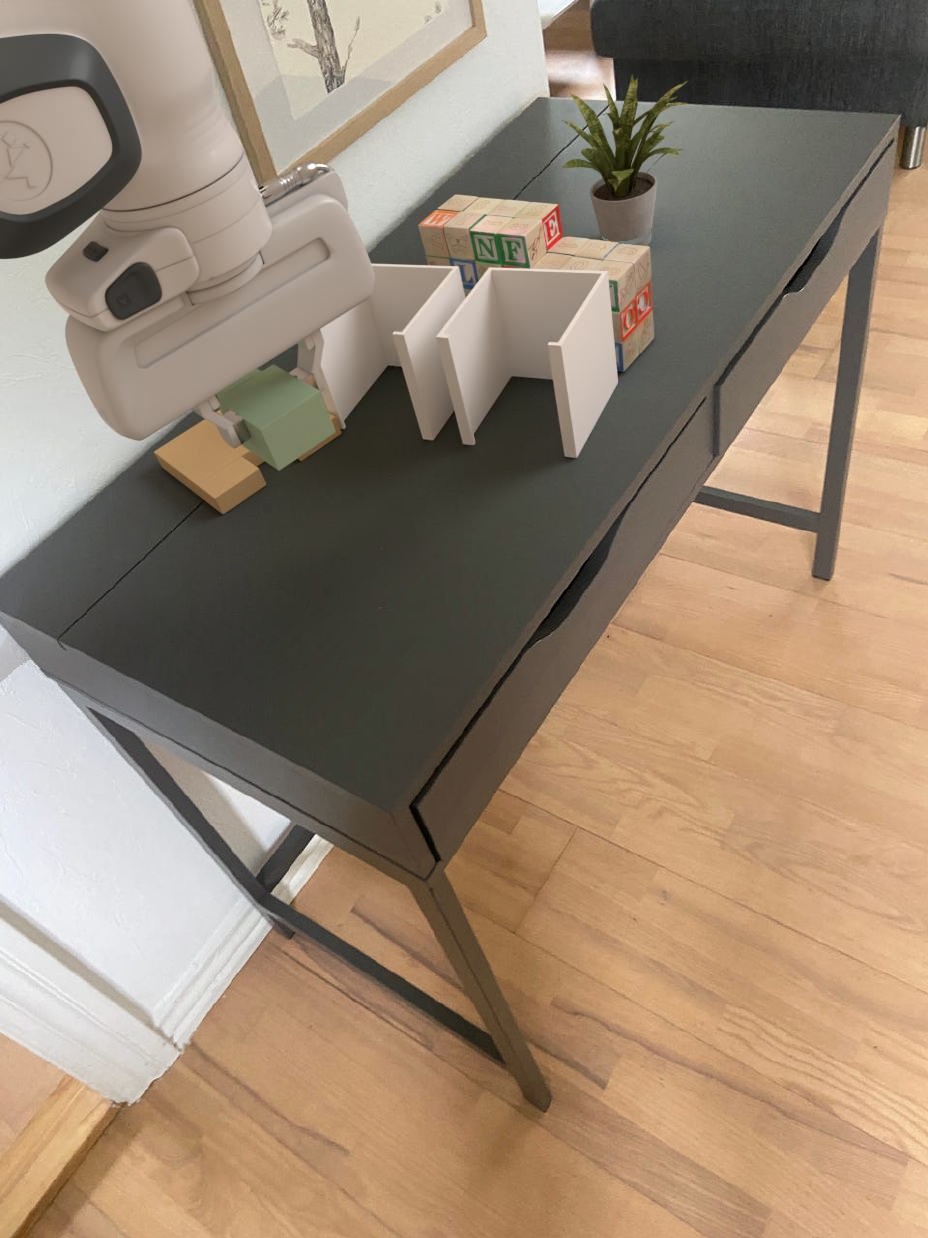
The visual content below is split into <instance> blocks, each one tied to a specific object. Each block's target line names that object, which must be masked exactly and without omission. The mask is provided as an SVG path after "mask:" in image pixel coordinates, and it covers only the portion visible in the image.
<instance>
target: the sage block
mask: <svg viewBox="0 0 928 1238" xmlns="http://www.w3.org/2000/svg"><path fill="white" fill-rule="evenodd" d="M216 397H217V400H218V402H219V404H220V406H219V408H218V410H220V411H221V413H222V415H223V414H225V413H226V412H228V411H230V410H232V411H234V412H236V415H240V416H242V417H243V418H244V422H245V424H246V426H247V430H248V431H249V432H250V434H251V438H250V439H249V440H247V441H246V442H244V443H243V444H241V445H242V446H244V447H245V448H247V449H248V450H250V451H251V452H252V453H254V454H255V455H257V456H258V457H260V458H261V459H262V460H264V461H265V462H264V463H267V464H268V465H269V466H271V467H272V468H274V469H275V470H277V471H278V472H279V471H281V470H283V469H284V468H286V467H287V466H289V465H291V463H293V462H294V461H296V460H298V459H297V458H299V457H300V456H302V455H303V454H305V453H306V452H308V451H309V450H311V449H312V448H314V447H315V446H316V445H318V444H319V443H321V442H322V441H324V440H325V439H327V438H328V437H330V436H331V435H333V434H334V433H335V432H336V431H335V429H334V426H333V424H332V421H331V418H330V416H329V412H328V410H327V407H326V404H325V402H324V399H323V396H322V394H321V392H320V391H319V390H318V389H316V388H314V387H312V386H311V385H309V384H307V383H305V382H304V381H301V380H300V379H298V378H297V377H295V376H292V375H291V374H289V372H288V371H286V370H284V369H282V368H280V367H279V366H278V365H276V364H271V365H270V366H268V367H267V368H265V369H263V370H260V369H259V368H257V369H255V370H254V371H252V372H250V373H249V374H247V375H246V376H244V377H242V378H241V379H239V380H238V381H236V382H235V383H233V384H231V385H230V386H228V387H227V388H225V389H223V390H222V391H220V392H219V393H217V394H216Z"/></svg>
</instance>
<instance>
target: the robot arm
mask: <svg viewBox="0 0 928 1238" xmlns="http://www.w3.org/2000/svg"><path fill="white" fill-rule="evenodd" d="M215 83H216V82H215V73H214V68H213V63H212V61H211V57H210V54H209V52H208V49H207V46H206V44H205V42H204V39H203V36H202V33H201V30H200V27H199V26H198V23H197V20H196V17H195V15H194V13H193V11H192V8H191V5H190V3H189V0H0V260H15V259H21V258H27V257H30V256H33V255H36V254H39V253H41V252H43V251H45V250H48V249H49V248H52V246H54V245H56V244H57V243H58V242H60V241H62V240H63V239H65V238H66V237H67V236H69V235H70V234H71V233H73V232H74V231H76V230H77V229H78V228H79V227H81V226H82V225H83V224H85V223H86V222H87V221H88V220H89V219H91V218H92V217H93V216H94V215H96V214H97V213H98V214H97V215H96V216H95V217H94V218H93V219H92V221H91V222H90V223H89V224H88V225H87V227H86V228H85V229H84V230H83V231H82V233H81V234H79V236H78V237H77V238H76V239H75V241H74V242H73V243H72V244H71V245H70V246H69V247H68V248H67V249H66V250H65V251H64V253H62V255H60V257H58V259H57V260H56V261H55V262H54V263H53V264H52V265H51V266H50V268H49V269H48V270H47V271H46V274H45V277H44V282H45V286H46V288H47V290H48V292H49V294H50V295H51V296H52V298H53V299H54V300H55V302H56V303H57V304H58V306H59V307H61V308H62V309H63V310H64V311H65V312H66V314H68V316H67V319H66V323H65V327H64V334H65V335H64V336H65V344H66V346H67V350H68V353H69V356H70V358H71V361H72V364H73V365H74V368H75V370H76V373H77V376H78V377H79V379H80V382H81V384H82V387H83V388H84V390H85V392H86V394H87V396H88V398H89V400H90V401H91V404H92V405H93V407H94V409H95V411H96V412H97V414H98V416H99V417H100V418H101V420H102V421H103V422H104V424H106V425H107V426H108V427H109V428H110V430H112V431H113V432H115V433H116V434H118V435H119V436H121V437H124V438H126V439H130V440H133V441H136V442H140V441H143V440H146V439H147V438H149V437H151V436H152V435H153V434H155V433H157V432H158V431H159V430H162V429H163V428H164V427H166V426H168V425H169V424H171V423H173V422H174V421H175V420H177V419H179V418H181V417H182V416H183V415H185V414H187V413H188V412H190V411H193V412H194V413H196V415H198V416H200V417H201V418H203V420H204V419H206V420H208V421H210V422H211V423H213V424H215V425H216V427H217V429H218V431H219V433H220V435H221V437H222V438H223V440H224V441H225V442H226V443H227V444H228V445H230V446H231V447H232V448H234V449H235V448H237V447H238V446H240V445H241V444H243V443H244V442H246V441H247V440H249V439H250V438H251V434H250V432H249V431H248V430H247V426H246V424H245V422H244V418H243V417H242V416H240V415H236V412H234V411H232V410H230V411H228V412H226V413H225V414H223V415H220V414H218V413H217V411H216V410H217V409H219V406H220V404H219V402H218V397H217V393H219V392H220V391H222V390H223V389H225V388H227V387H228V386H230V385H231V384H233V383H235V382H236V381H238V380H239V379H241V378H242V377H244V376H246V375H247V374H249V373H250V372H252V371H254V370H255V369H259V368H260V367H262V366H263V365H265V364H266V363H268V362H270V361H271V360H273V359H275V358H276V357H278V356H279V355H281V354H282V353H284V352H286V351H287V350H289V349H290V348H292V347H294V346H295V345H298V346H297V358H296V359H297V360H296V361H297V362H296V367H295V368H293V369H292V370H291V371H289V372H288V373H289V374H291V375H292V376H295V377H297V378H298V379H300V380H301V381H304V382H305V383H307V384H309V385H311V386H312V387H314V388H316V389H318V390H319V391H320V392H322V391H323V390H325V386H324V383H323V381H322V378H321V375H320V373H319V369H320V365H321V359H322V353H323V347H324V339H323V336H322V333H321V331H320V329H321V328H322V327H324V326H325V325H327V324H329V323H330V322H332V321H333V320H335V319H337V318H338V317H340V316H341V315H343V314H345V313H346V312H348V311H349V310H351V309H353V308H354V307H356V306H357V305H359V304H361V303H362V302H364V301H365V300H367V299H368V298H369V297H370V296H371V295H372V291H373V287H374V283H375V273H374V270H373V267H372V264H373V263H372V262H371V259H370V256H369V254H368V252H367V249H366V246H365V245H364V242H363V240H362V238H361V236H360V233H359V231H358V229H357V227H356V225H355V223H354V221H353V219H352V217H351V216H350V214H349V213H348V212H349V203H348V197H347V195H346V191H345V187H344V185H343V181H342V179H341V177H340V175H339V174H338V172H337V171H336V170H335V169H334V168H333V167H332V166H330V165H328V164H326V163H321V162H317V163H316V162H314V161H313V160H309V159H308V160H305V161H303V162H300V163H298V164H297V165H295V166H293V167H292V168H291V170H288V172H284V173H283V174H280V175H278V176H275V177H273V178H271V179H269V180H267V181H265V182H263V183H261V184H259V185H258V183H257V181H256V178H255V174H254V173H253V170H252V167H251V165H250V164H251V163H250V162H249V159H248V156H247V153H246V151H245V150H244V146H243V143H242V141H241V139H240V137H239V135H238V134H237V131H235V129H234V128H233V126H232V125H231V124H230V122H229V121H228V118H227V117H226V115H225V114H224V111H223V109H222V107H221V104H220V102H219V98H218V94H217V90H216V84H215ZM319 171H321V172H319Z"/></svg>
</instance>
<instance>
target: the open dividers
mask: <svg viewBox="0 0 928 1238" xmlns="http://www.w3.org/2000/svg"><path fill="white" fill-rule="evenodd" d="M371 264H372V267H373V270H374V273H375V283H374V287H373V291H372V295H371V296H370V297H369V298H368V299H367V300H365V301H364V302H362V303H361V304H359V305H357V306H356V307H354V308H353V309H351V310H349V311H348V312H346V313H345V314H343V315H341V316H340V317H338V318H337V319H335V320H333V321H332V322H330V323H329V324H327V325H325V326H324V327H322V328H321V329H320V331H321V333H322V336H323V339H324V347H323V353H322V359H321V365H320V369H319V373H320V375H321V378H322V381H323V383H324V386H325V390H323V391H322V392H321V395H322V398H323V400H324V403H325V405H326V408H327V411H328V413H330V414H332V415H333V416H335V417H336V419H337V422H338V425H339V427H340V430H345V429H346V427H347V426H346V423H345V420H346V419H347V418H348V416H349V415H350V414H351V413H352V411H353V410H354V409H355V407H357V405H358V404H359V403H360V401H361V400H362V399H363V398H364V396H365V395H366V394H367V393H368V391H369V390H370V388H371V387H372V386H373V385H374V384H375V383H376V381H377V380H378V378H379V377H380V376H381V375H382V373H383V372H384V371H385V370H386V368H387V367H388V366H391V367H392V366H393V367H401V369H402V372H403V377H404V379H405V380H404V381H405V383H406V386H407V391H408V392H409V396H410V400H411V404H412V407H413V410H414V413H415V417H416V420H417V424H418V427H419V431H420V434H421V437H422V440H427V441H434V440H435V439H436V437H437V436H438V434H439V433H440V431H442V430H443V428H444V426H445V425H446V423H447V422H448V420H449V419H450V417H451V416H452V415H453V413H454V414H455V418H456V422H457V427H458V430H459V434H460V438H461V442H462V445H467V446H475V444H476V439H475V433H476V432H477V430H478V429H479V427H480V425H481V424H482V422H483V421H484V419H485V418H486V416H487V415H488V413H489V412H490V410H491V408H492V407H493V406H494V404H495V403H496V401H497V399H498V398H499V396H500V395H501V393H502V392H503V391H504V389H505V387H506V385H507V384H508V383H509V381H510V380H511V379H512V377H517V378H531V379H539V380H540V379H541V380H552V382H553V389H554V396H555V404H556V409H557V416H558V422H559V428H560V435H561V442H562V448H563V455H564V458H565V457H566V458H571V459H572V458H573V459H578V457H579V455H580V453H581V452H582V450H583V448H584V446H585V444H586V442H587V441H588V439H589V437H590V435H591V433H592V432H593V430H594V428H595V426H596V424H597V423H598V421H599V419H600V416H602V413H603V411H604V409H605V408H606V406H607V404H608V402H609V401H610V398H611V396H612V395H613V393H614V391H615V389H616V387H617V386H618V384H619V378H618V371H617V365H616V354H615V344H614V333H613V322H612V311H611V301H610V290H609V279H608V271H585V270H554V269H523V268H492V267H489V268H488V270H487V271H486V272H485V274H484V275H483V276H482V277H481V279H480V280H479V281H478V283H477V284H476V285H475V287H474V288H473V289H472V290H471V292H470V293H469V294H468V296H467V297H466V298H465V293H464V289H463V284H462V280H461V275H460V270H459V266H429V265H428V264H397V263H395V264H394V263H393V264H391V263H371Z"/></svg>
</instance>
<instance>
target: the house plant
mask: <svg viewBox="0 0 928 1238" xmlns="http://www.w3.org/2000/svg"><path fill="white" fill-rule="evenodd" d="M638 79H639V76H638V77H637V78H634V73H632V74H631V75H630V79H629V85H628V90H627V92H626V95H625V97H624V101H623V103H622V109H621V111H620V114H619V110H618V108H617V105H616V103H615V101H614V99H613V97H612V95H611V92H610V90H609V88H608V87H607V86H606V84H604V82H602V84H603V88H604V91H605V94H606V100H607V104H608V108H609V112H605V113H603V114H602V116H604V115H607V116H608V118H609V120H610V121H611V124H612V132H611V133H612V135H613V141H614V146H615V150H614V151H613V149H612V146H610V144H609V141H608V138H607V135H606V133H605V129H604V128H603V126H602V123H601V121H600V119H599V117H598V115H597V113H596V112H595V110H594V109H593V108H592V107H591V106H590V105H588V104H587V103H586V102H585V101H584V100H583V99H582V98H581V97H579V96H577V95H575V94H572V93H570V96H571V97H572V99H573V101H574V102H575V104H576V106H577V107H578V110H579V112H580V113H581V114H582V117H583V118H584V121H585V123H586V125H587V128H588V131H589V133H587V132H586V131H584V130H583V129H582V128H580V127H579V126H577V125H576V124H575V123H572V122H570V121H566V120H564V119H563V120H562V119H561V121H562V122H563V123H565V125H566V126H569V127H570V128H571V129H573V130H574V131H575V132H576V133H577V134H578V135H579V136H580V137H581V138H582V139H583V140H585V142H587V144H588V145H589V146H590V148H589V147H586V148H583V149H582V150H581V151H580V154H581V155H582V156H583V157H584V158H585V159H586V160H585V159H581V158H574V159H570V160H569V161H566V163H565V164H564V165H563V166H562V167H561V169H560V170H562V169H570V168H571V169H572V168H584V169H585V168H586V169H592V170H594V171H596V172H597V173H599V174H600V176H601V177H602V178H600V179H598V180H597V181H595V182H594V183H593V184H592V185H591V188H589V196H590V200H591V203H592V208H593V211H594V214H595V219H596V222H597V226H598V230H599V233H600V236H601V235H602V236H603V237H604V238H605V239H608V240H609V241H615V242H617V241H618V242H619V241H628V240H633V239H636V238H639V237H641V236H644V235H646V234H647V233H648V232H649V231H650V230H651V228H652V229H653V226H654V217H655V207H656V198H657V189H658V179H657V177H656V176H655V175H653V174H652V173H650V172H649V171H650V170H651V168H648V170H647V171H644V170H641V167H642V165H643V164H644V163H645V162H646V161H647V160H648V159H649V158H651V157H652V156H654V155H660V154H661V156H660V157H659V158H658V159H657V160H656V161H655V162H654V163H653V165H655V164H657V163H658V161H659V160H661V158H663V157H664V156H665V155H668V154H670V155H671V154H672V155H677V156H678V157H680V158H681V159H682V161H684V160H683V158H682V156H681V155H680V153H679V151H683V149H682V148H681V149H680V148H671V147H665V146H663V147H659V148H655V147H656V146H657V145H659V144H660V143H661V142H662V141H663V140H664V139H665V138H667V136H665V135H661V133H662V132H663V130H664V129H665V128H667V127H670V126H671V124H673V123H674V122H675V120H673V121H670V122H667V123H660V124H657V125H655V126H654V123H655V122H656V120H657V118H658V117H659V115H661V113H662V112H664V111H666V110H667V109H669V108H673V107H677V106H683V105H686V104H688V102H684V101H683V102H682V101H679V102H678V101H677V102H672V103H670V102H671V101H674V100H675V99H677V98H678V97H679V95H676V96H673V97H671V96H672V95H673V94H674V93H675V92H676V91H678V90H679V89H680V88H682V87H683V86H685V85H686V84H687V83H688V82H689V80H686V81H684V82H682V83H680V84H678V85H676V86H675V87H673V88H671V89H670V90H668V91H667V92H666V93H664V94H663V95H662V96H661V97H660V98H659V99H658V100H657V102H656V103H655V104H654V105H653V107H651V108H649V110H647V111H645V112H643V114H641V115H639V116H638V117H636V115H637V110H638V106H639V103H638V102H639V101H638V96H637V95H638V94H637V91H638V87H639V81H638ZM641 120H643V121H642V123H641V126H640V127H639V130H638V131H637V132H636V133H635V134H634V135H633V129H634V127H635V126H636V125H637V124H638V123H639V122H640V121H641ZM653 126H654V127H653ZM650 133H652V134H651V136H649V137H648V135H649V134H650ZM632 135H633V136H632ZM654 148H655V149H654ZM652 234H653V232H652V233H651V234H650V236H649V237H648V238H647V239H645V240H643V241H641V242H639V243H636V244H633V245H641V246H649V245H650V244H651V242H652V236H653V235H652Z"/></svg>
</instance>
